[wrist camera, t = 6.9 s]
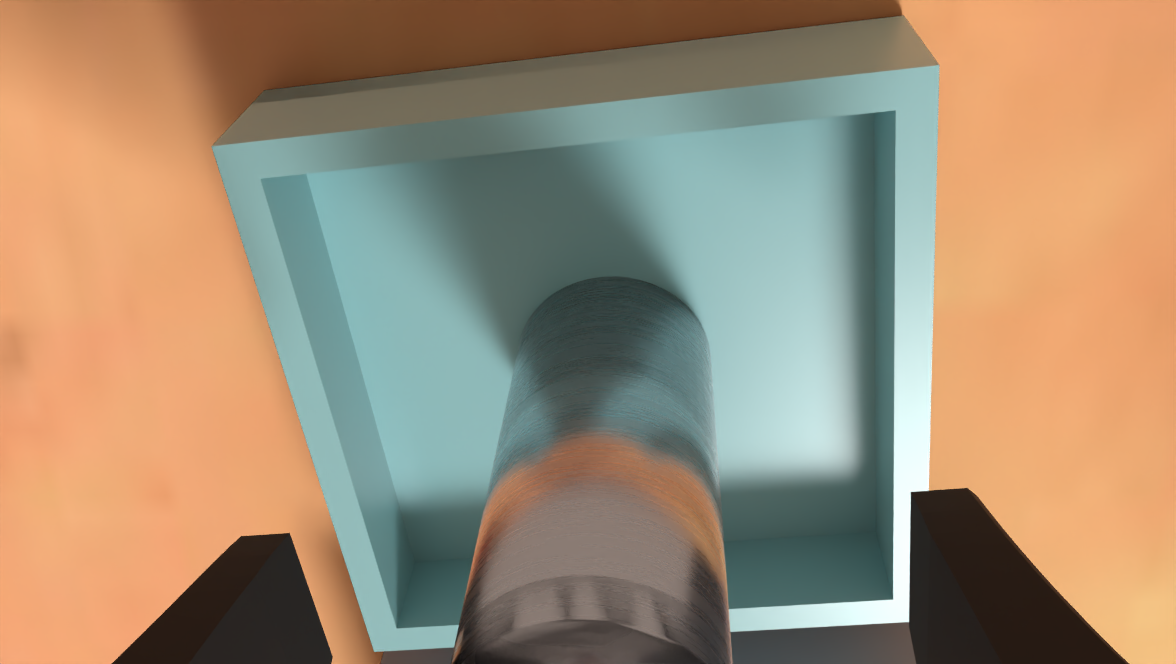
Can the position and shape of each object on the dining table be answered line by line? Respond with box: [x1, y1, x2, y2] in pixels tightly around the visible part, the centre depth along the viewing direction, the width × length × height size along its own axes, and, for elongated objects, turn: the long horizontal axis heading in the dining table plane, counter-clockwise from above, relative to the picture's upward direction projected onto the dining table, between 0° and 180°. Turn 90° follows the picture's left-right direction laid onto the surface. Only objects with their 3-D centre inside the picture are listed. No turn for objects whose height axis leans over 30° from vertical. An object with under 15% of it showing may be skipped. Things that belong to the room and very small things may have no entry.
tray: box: [212, 15, 939, 652], centre depth 17 cm, size 9×9×2 cm
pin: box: [451, 276, 733, 664], centre depth 14 cm, size 3×3×7 cm
